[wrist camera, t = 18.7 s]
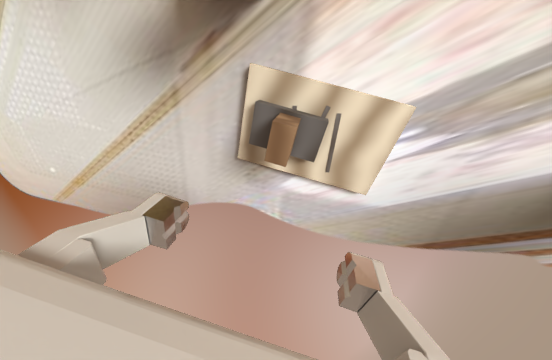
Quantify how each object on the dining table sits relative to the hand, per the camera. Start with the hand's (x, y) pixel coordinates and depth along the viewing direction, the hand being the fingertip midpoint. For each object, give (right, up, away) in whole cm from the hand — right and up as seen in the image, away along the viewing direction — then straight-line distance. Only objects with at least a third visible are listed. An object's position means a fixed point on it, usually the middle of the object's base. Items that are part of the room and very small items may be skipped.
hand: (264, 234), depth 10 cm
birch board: (+7, +10, +20) cm, 23 cm away
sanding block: (+2, +10, +19) cm, 22 cm away
